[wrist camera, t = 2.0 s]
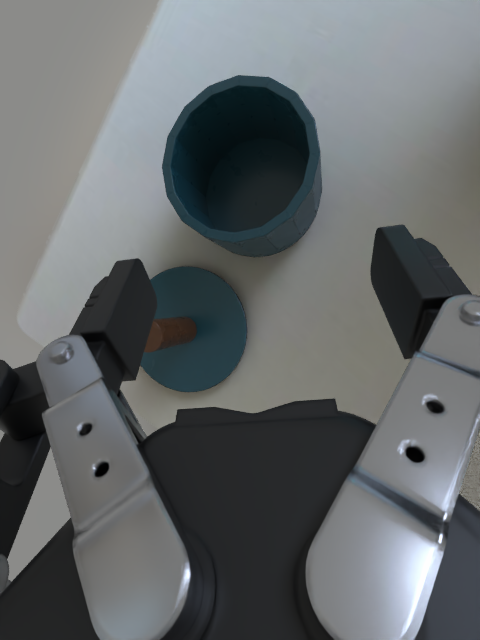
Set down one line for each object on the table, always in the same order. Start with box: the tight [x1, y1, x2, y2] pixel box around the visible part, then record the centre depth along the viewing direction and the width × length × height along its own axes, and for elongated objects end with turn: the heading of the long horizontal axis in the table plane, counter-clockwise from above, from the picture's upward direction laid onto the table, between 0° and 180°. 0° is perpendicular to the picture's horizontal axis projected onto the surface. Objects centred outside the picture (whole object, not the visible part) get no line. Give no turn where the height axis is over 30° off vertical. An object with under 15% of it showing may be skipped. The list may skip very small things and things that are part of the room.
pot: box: [162, 75, 322, 257], centre depth 27 cm, size 11×11×8 cm
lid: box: [140, 267, 247, 392], centre depth 30 cm, size 12×12×8 cm
